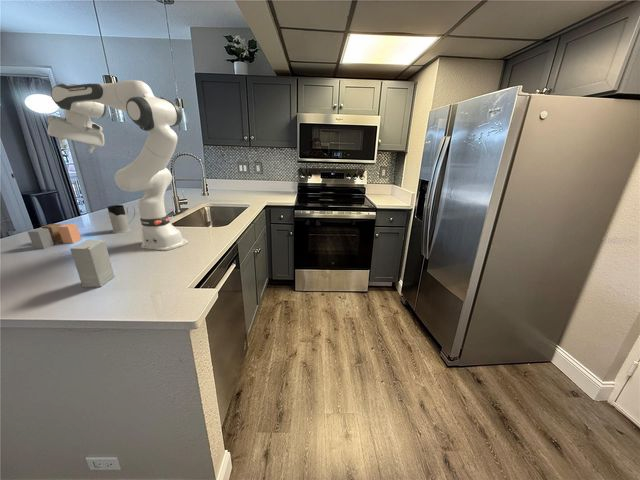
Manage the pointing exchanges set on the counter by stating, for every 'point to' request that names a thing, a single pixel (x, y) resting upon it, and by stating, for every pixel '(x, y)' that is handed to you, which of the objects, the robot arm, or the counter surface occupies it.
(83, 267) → the skincare box
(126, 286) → the counter surface
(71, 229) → the terracotta block
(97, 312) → the counter surface
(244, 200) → the counter surface
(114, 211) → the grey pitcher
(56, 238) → the walnut block
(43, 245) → the grey block
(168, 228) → the robot arm
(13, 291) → the counter surface
